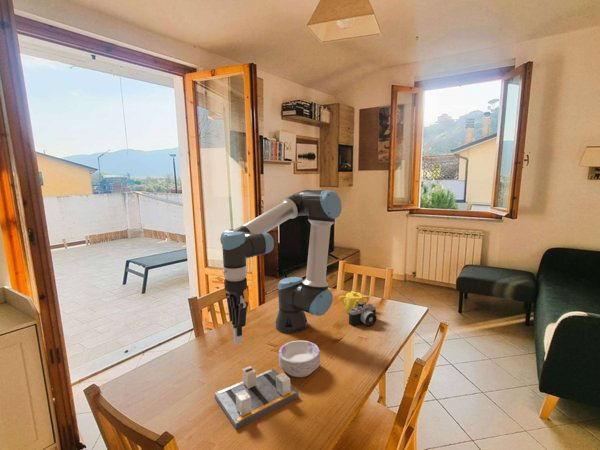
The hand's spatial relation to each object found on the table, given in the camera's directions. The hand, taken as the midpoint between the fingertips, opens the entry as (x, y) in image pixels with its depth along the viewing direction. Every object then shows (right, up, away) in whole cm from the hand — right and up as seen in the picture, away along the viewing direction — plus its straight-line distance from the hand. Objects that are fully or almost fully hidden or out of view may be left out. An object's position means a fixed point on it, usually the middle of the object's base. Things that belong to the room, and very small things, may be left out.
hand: (238, 342), depth 111 cm
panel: (+8, -15, -8) cm, 19 cm away
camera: (+52, -7, +42) cm, 68 cm away
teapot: (+50, -4, +56) cm, 76 cm away
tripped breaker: (+5, -12, -4) cm, 14 cm away
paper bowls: (+21, -13, +7) cm, 26 cm away
